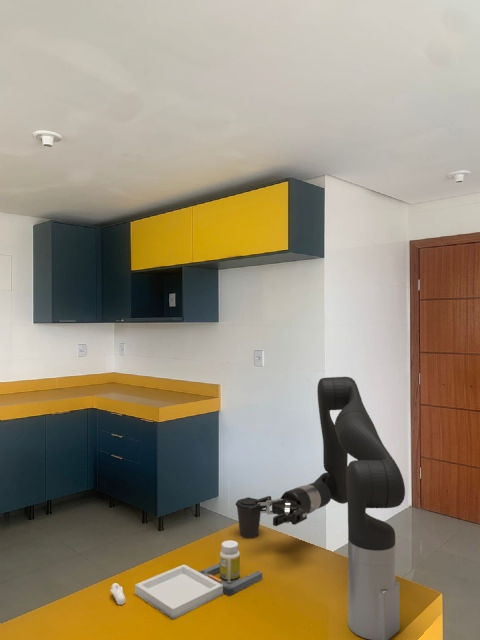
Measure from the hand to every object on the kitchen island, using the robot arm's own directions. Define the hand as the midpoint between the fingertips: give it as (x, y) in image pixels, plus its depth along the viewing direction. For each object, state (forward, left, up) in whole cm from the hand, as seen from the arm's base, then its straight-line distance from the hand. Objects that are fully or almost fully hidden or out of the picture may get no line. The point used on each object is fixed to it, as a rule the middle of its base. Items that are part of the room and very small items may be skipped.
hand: (261, 517), depth 129 cm
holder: (0, +11, -12) cm, 16 cm away
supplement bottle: (0, +11, -12) cm, 16 cm away
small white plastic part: (+10, +36, -12) cm, 39 cm away
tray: (+3, +24, -12) cm, 27 cm away
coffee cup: (+15, -11, -12) cm, 22 cm away
